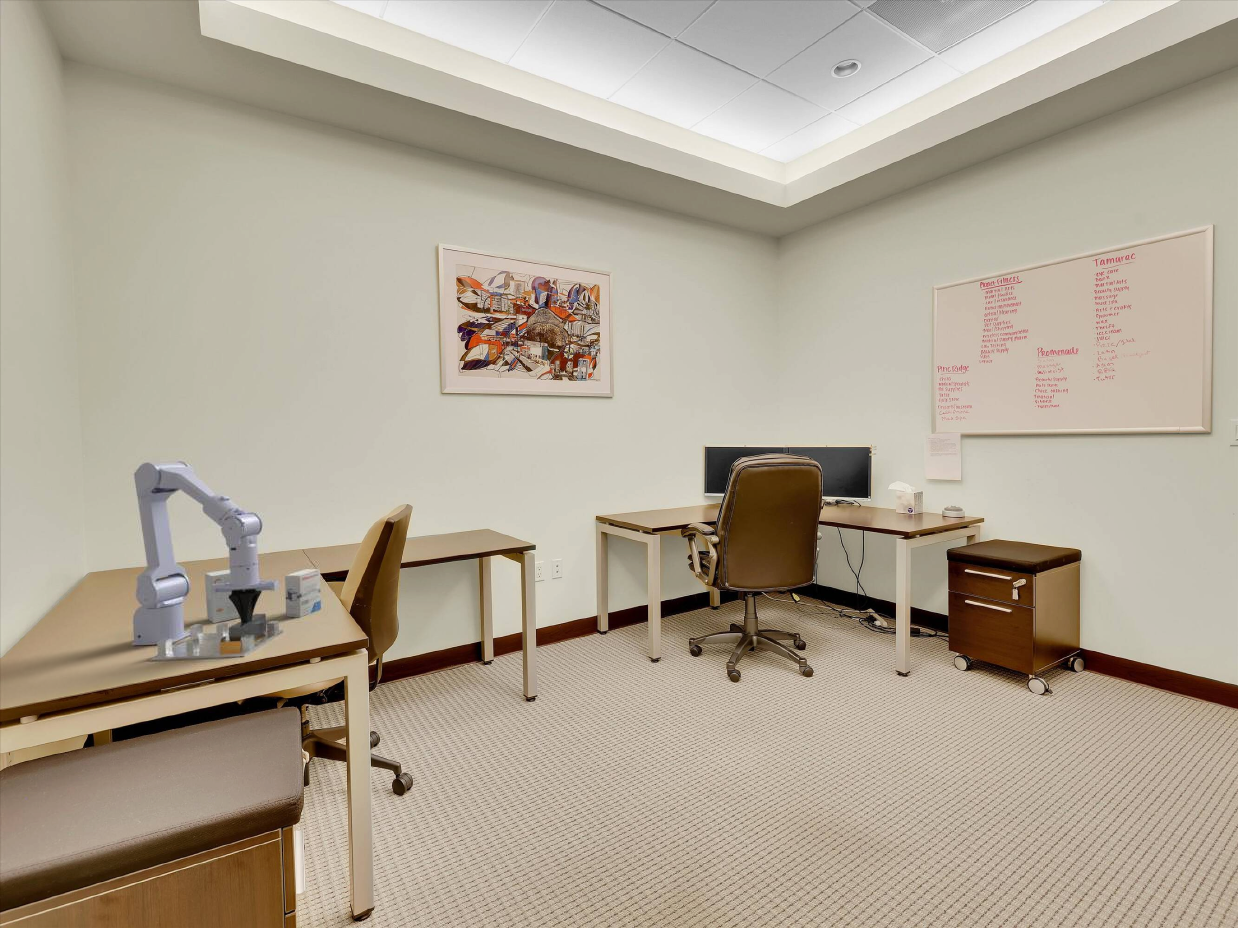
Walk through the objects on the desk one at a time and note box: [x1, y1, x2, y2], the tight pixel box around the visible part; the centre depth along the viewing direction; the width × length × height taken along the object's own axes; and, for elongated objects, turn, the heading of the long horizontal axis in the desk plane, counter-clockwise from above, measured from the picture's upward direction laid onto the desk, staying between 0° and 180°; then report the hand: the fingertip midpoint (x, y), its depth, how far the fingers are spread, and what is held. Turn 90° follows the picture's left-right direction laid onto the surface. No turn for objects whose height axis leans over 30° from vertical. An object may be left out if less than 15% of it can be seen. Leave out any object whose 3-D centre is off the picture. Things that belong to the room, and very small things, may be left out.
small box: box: [204, 569, 240, 624], centre depth 163 cm, size 8×6×13 cm
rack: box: [151, 620, 284, 662], centre depth 140 cm, size 20×17×4 cm
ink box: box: [284, 568, 322, 618], centre depth 167 cm, size 9×5×12 cm, turn 168°
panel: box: [228, 613, 267, 641], centre depth 141 cm, size 2×11×5 cm, turn 3°
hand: (246, 621), depth 140 cm, fingers closed, pressing on panel
